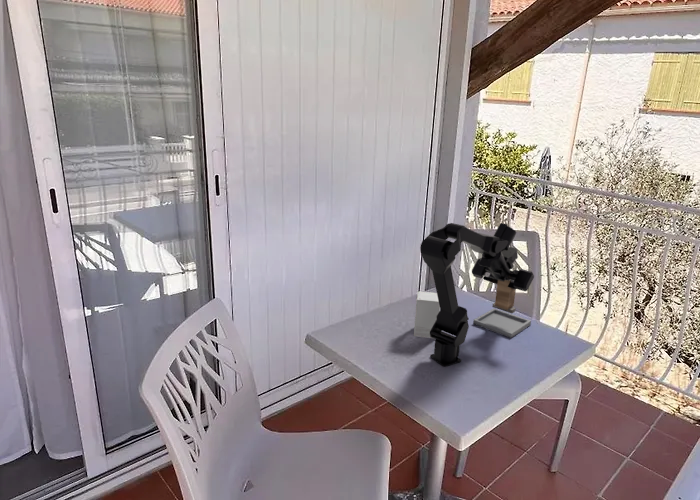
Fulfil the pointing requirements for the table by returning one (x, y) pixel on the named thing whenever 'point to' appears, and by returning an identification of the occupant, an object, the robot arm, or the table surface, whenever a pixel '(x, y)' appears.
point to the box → (502, 322)
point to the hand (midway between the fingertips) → (508, 286)
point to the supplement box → (425, 313)
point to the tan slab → (504, 297)
